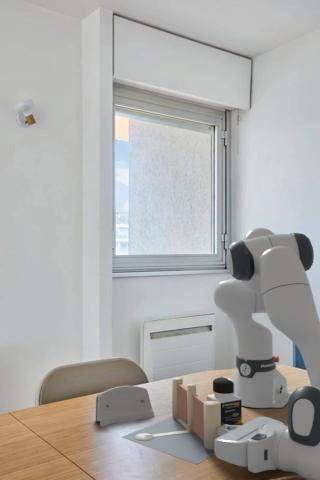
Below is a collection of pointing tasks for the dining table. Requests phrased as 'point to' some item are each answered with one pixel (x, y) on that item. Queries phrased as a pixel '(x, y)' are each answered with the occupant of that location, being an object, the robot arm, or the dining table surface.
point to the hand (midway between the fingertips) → (221, 429)
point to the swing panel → (206, 420)
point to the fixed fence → (183, 402)
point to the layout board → (173, 440)
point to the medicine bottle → (227, 401)
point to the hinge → (123, 405)
